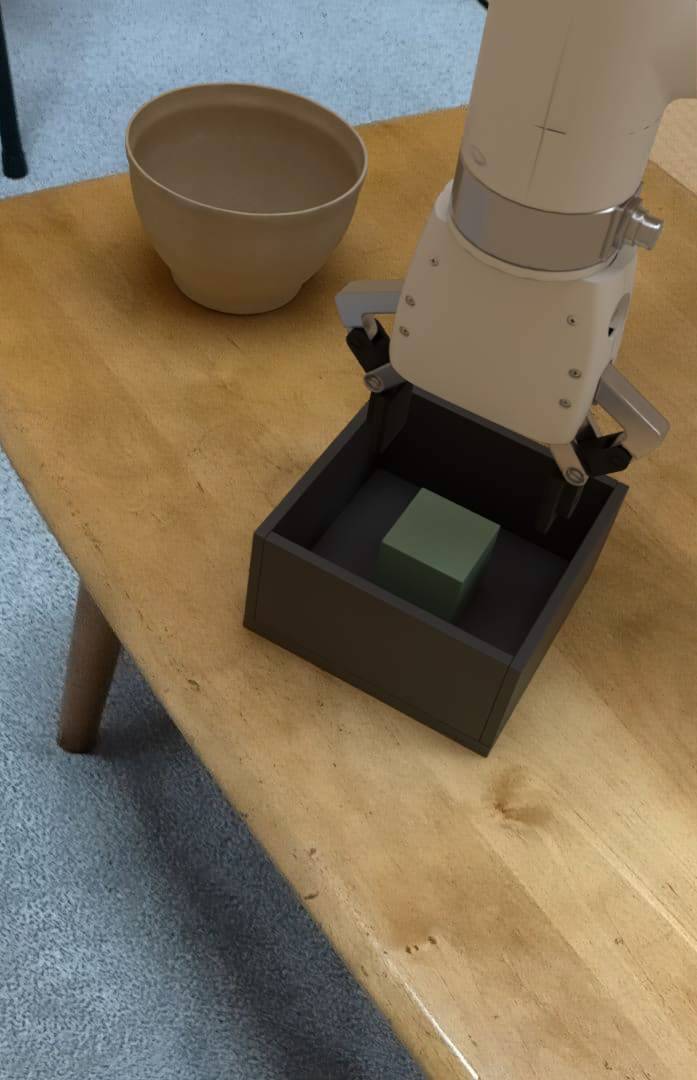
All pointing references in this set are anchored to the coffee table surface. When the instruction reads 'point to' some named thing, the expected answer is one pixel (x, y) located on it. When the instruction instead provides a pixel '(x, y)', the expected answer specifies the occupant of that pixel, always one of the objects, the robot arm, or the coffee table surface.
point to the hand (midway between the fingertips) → (466, 475)
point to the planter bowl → (243, 189)
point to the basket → (396, 625)
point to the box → (435, 555)
